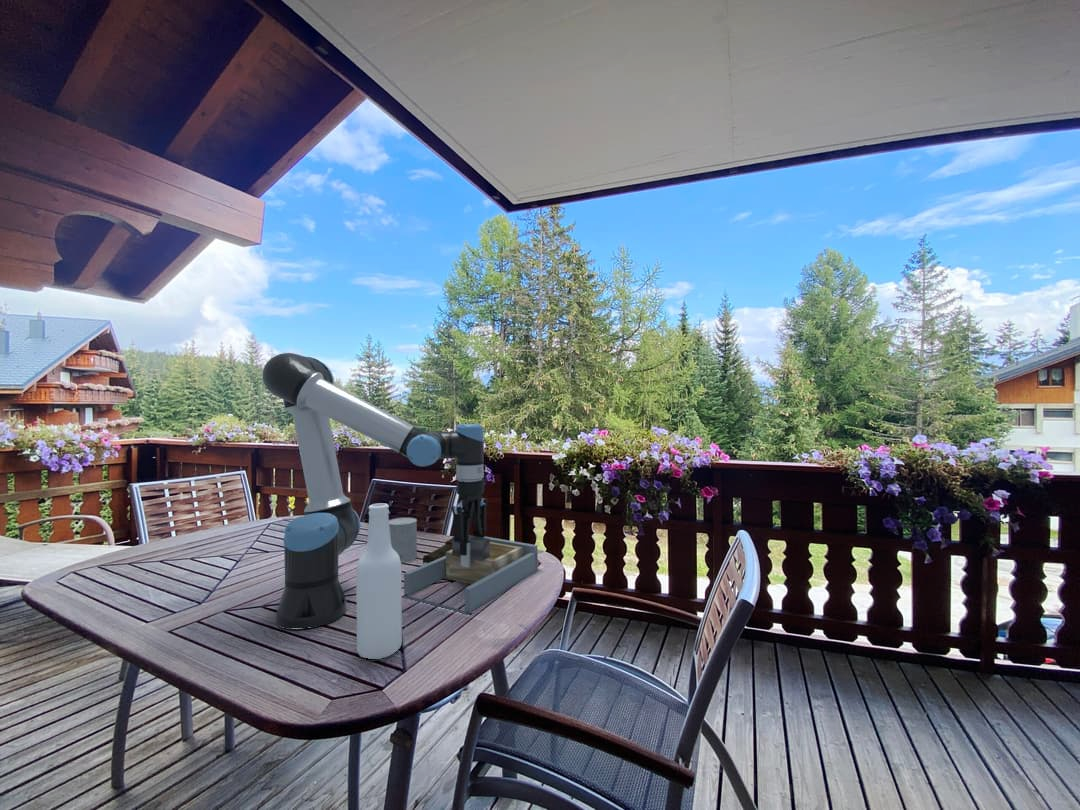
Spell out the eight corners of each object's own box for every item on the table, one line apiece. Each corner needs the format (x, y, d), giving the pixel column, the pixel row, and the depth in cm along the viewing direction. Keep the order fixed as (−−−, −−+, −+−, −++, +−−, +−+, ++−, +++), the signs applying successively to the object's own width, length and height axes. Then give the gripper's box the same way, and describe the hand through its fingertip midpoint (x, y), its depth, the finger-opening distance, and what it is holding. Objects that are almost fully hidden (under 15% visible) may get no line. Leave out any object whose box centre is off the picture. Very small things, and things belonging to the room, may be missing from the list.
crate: (491, 591, 121) (491, 544, 121) (442, 579, 130) (442, 535, 130) (522, 572, 135) (522, 530, 135) (476, 563, 143) (476, 523, 143)
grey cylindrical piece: (381, 561, 150) (381, 523, 150) (398, 552, 159) (398, 516, 159) (406, 563, 147) (406, 525, 147) (422, 554, 156) (422, 518, 156)
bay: (470, 616, 109) (470, 581, 109) (404, 598, 120) (404, 565, 120) (537, 573, 137) (537, 545, 137) (478, 561, 148) (478, 535, 148)
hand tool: (432, 568, 143) (432, 553, 143) (422, 566, 145) (422, 552, 145) (463, 550, 161) (463, 537, 161) (453, 549, 162) (453, 536, 162)
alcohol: (403, 656, 92) (402, 507, 92) (355, 665, 89) (354, 511, 89) (400, 636, 100) (399, 499, 100) (357, 643, 97) (356, 502, 97)
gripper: (461, 485, 118) (461, 576, 118) (498, 476, 133) (499, 556, 133) (438, 483, 122) (439, 571, 122) (478, 474, 137) (478, 552, 136)
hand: (471, 563), depth 127 cm, fingers closed on crate, 4 cm apart
